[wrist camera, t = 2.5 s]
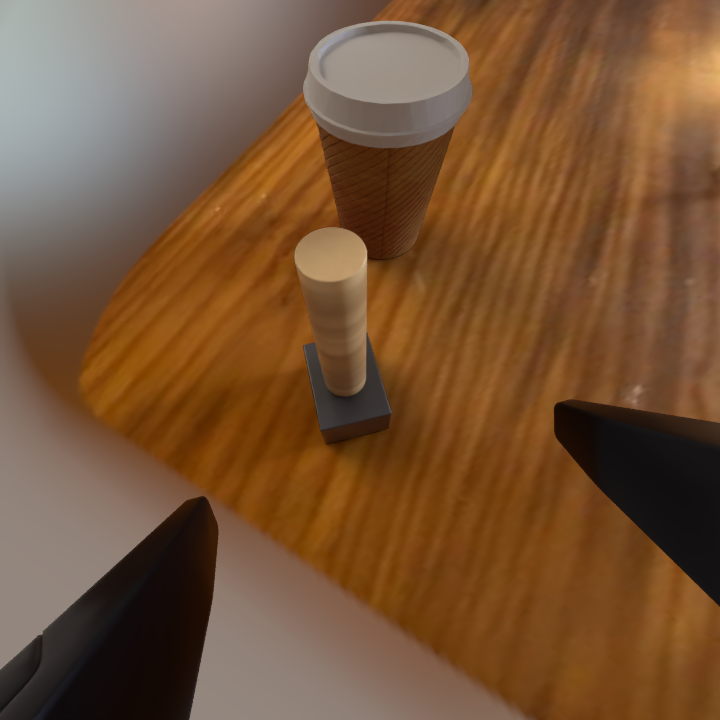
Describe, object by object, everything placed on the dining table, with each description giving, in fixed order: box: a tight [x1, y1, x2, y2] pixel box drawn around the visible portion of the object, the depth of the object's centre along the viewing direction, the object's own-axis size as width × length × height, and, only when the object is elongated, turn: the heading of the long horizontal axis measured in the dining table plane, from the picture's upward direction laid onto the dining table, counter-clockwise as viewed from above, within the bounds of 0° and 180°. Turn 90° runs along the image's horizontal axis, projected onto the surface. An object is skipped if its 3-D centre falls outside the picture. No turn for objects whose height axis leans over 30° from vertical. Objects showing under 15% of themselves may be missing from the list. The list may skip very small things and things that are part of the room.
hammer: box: [294, 227, 392, 444], centre depth 18 cm, size 6×4×13 cm
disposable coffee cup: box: [303, 21, 472, 259], centre depth 25 cm, size 10×10×12 cm
